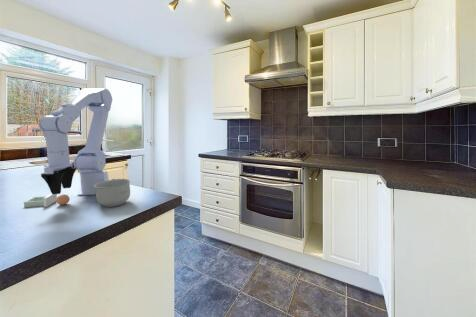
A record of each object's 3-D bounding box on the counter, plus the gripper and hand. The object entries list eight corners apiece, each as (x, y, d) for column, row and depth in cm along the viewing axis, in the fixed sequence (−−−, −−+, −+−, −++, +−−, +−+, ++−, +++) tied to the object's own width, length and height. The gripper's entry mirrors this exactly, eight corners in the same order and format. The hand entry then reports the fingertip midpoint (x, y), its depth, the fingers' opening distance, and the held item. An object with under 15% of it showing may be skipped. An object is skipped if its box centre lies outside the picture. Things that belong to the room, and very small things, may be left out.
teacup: (127, 207, 74) (126, 184, 72) (90, 210, 70) (88, 186, 69) (134, 195, 87) (133, 176, 86) (103, 197, 84) (102, 177, 83)
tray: (53, 200, 80) (53, 195, 80) (45, 205, 75) (44, 200, 75) (34, 201, 79) (34, 197, 78) (24, 207, 73) (23, 202, 73)
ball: (71, 202, 78) (71, 192, 78) (67, 205, 75) (66, 195, 74) (60, 203, 77) (58, 193, 77) (54, 206, 74) (53, 196, 73)
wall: (57, 200, 80) (56, 192, 80) (46, 206, 74) (45, 198, 73) (54, 200, 80) (53, 192, 80) (43, 206, 73) (42, 198, 73)
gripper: (55, 149, 79) (58, 186, 81) (30, 154, 65) (35, 197, 67) (77, 149, 81) (80, 185, 83) (58, 153, 67) (62, 196, 69)
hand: (61, 190), depth 75 cm, fingers open, 7 cm apart
